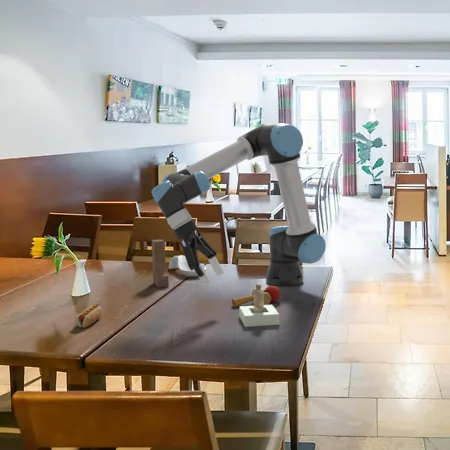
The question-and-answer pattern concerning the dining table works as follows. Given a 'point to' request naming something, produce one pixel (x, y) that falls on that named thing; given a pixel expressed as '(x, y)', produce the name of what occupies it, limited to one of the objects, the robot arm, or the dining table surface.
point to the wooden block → (159, 264)
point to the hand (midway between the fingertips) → (214, 279)
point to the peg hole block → (258, 316)
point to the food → (89, 316)
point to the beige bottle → (258, 299)
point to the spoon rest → (183, 266)
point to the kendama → (269, 294)
